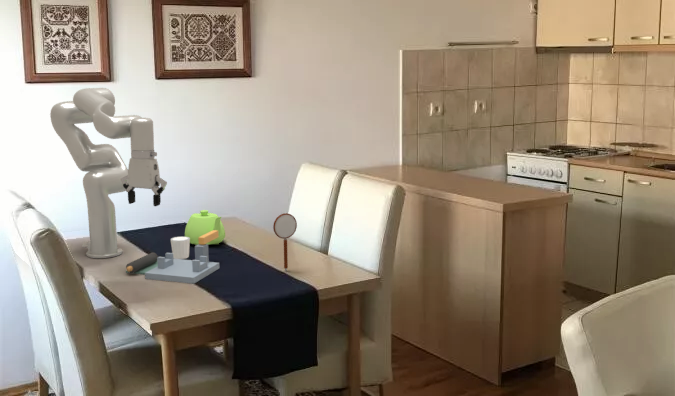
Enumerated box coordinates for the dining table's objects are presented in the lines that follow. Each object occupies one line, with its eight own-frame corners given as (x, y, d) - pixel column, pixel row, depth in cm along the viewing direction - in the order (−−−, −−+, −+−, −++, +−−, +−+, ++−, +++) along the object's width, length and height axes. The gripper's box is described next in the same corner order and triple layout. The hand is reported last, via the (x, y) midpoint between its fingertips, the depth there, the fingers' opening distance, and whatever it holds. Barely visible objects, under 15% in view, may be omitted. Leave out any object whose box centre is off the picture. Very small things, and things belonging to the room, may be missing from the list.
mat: (125, 272, 250) (125, 270, 250) (151, 260, 265) (151, 258, 265) (146, 274, 248) (146, 273, 248) (171, 262, 263) (171, 260, 263)
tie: (198, 244, 253) (198, 237, 253) (213, 236, 264) (213, 230, 263) (203, 244, 253) (203, 237, 252) (218, 237, 263) (218, 230, 263)
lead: (152, 262, 262) (149, 252, 262) (161, 260, 261) (158, 250, 261) (125, 275, 247) (122, 265, 246) (134, 273, 246) (131, 263, 245)
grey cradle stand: (145, 278, 244) (143, 254, 242) (173, 264, 261) (172, 241, 259) (194, 283, 238) (192, 258, 237) (219, 268, 255) (218, 245, 254)
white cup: (186, 260, 266) (185, 241, 264) (168, 259, 267) (167, 240, 266) (193, 255, 272) (192, 236, 271) (176, 254, 274) (175, 235, 272)
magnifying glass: (275, 273, 249) (274, 215, 245) (273, 272, 251) (272, 214, 247) (298, 269, 253) (297, 212, 249) (296, 268, 255) (295, 211, 251)
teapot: (238, 246, 285) (237, 212, 282) (204, 252, 275) (203, 218, 273) (209, 235, 301) (207, 204, 299) (175, 241, 292) (174, 209, 289)
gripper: (171, 154, 250) (172, 204, 254) (126, 151, 255) (128, 199, 259) (159, 158, 243) (160, 208, 247) (113, 154, 248) (116, 204, 252)
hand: (144, 204), depth 253 cm, fingers open, 9 cm apart
